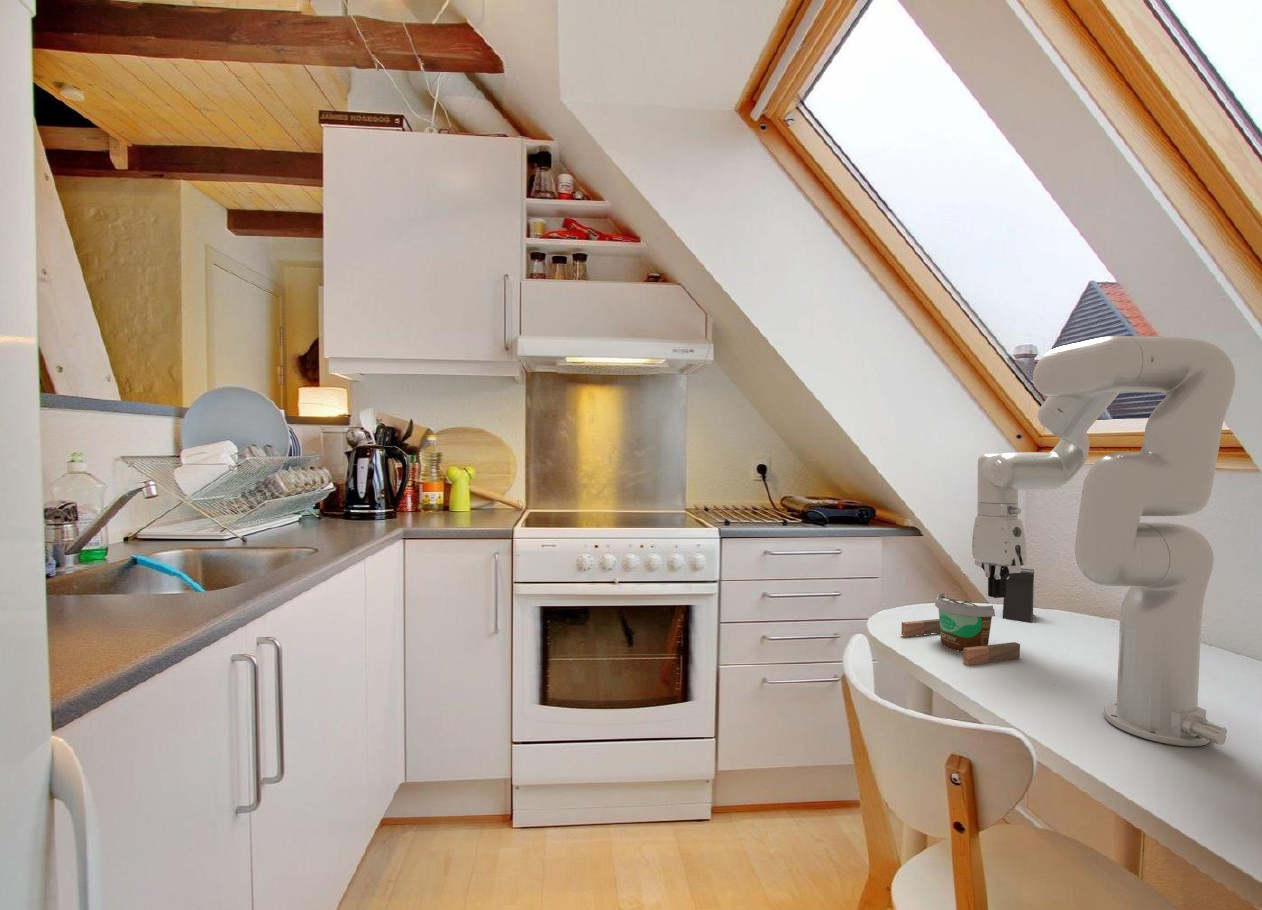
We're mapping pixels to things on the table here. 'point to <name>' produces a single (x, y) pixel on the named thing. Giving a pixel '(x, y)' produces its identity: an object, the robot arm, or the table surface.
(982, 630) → the food container
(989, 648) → the lane walls
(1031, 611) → the phone stand
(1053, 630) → the table surface
